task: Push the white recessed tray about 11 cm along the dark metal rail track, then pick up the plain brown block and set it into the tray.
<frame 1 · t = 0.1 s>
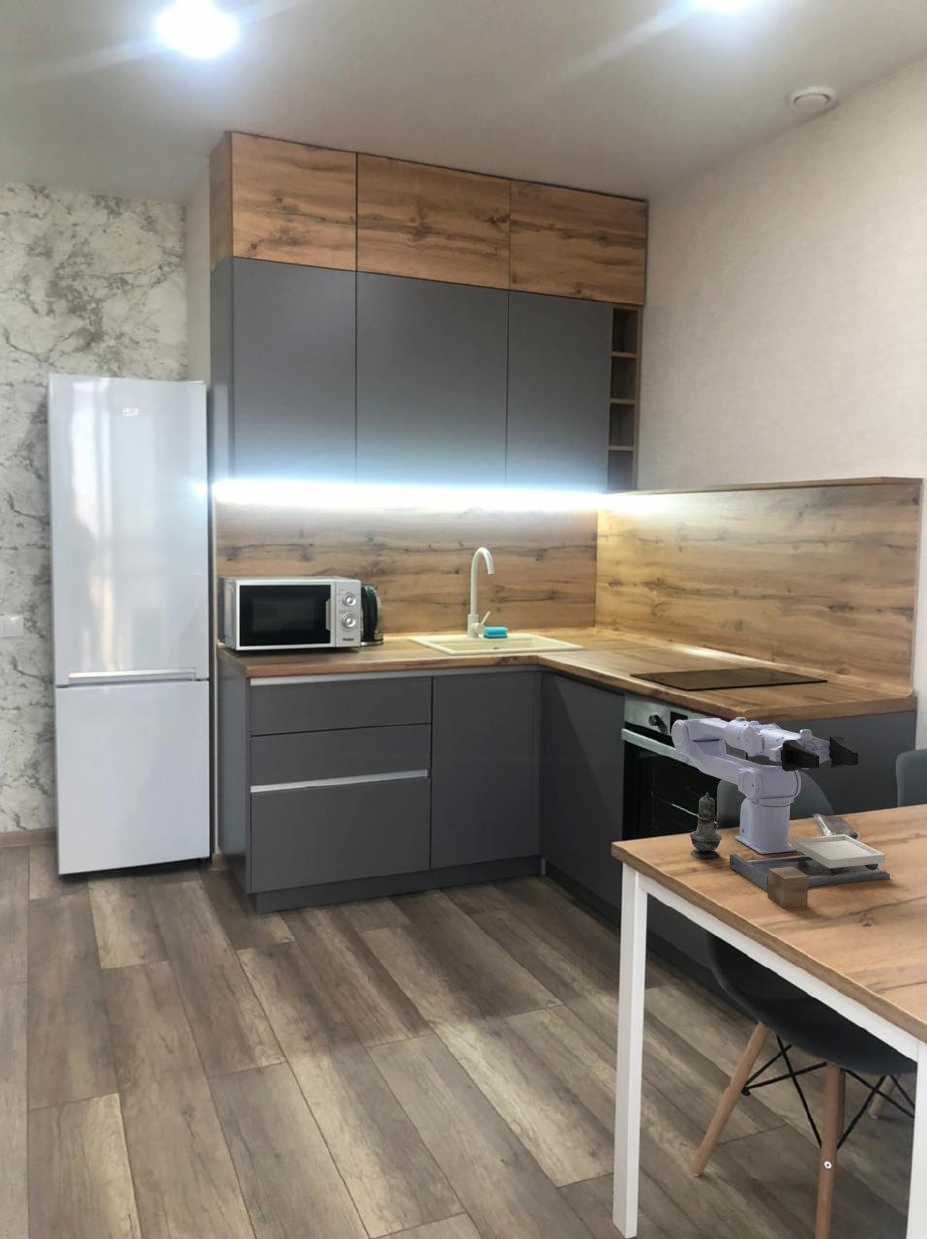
hand: (837, 760, 171), 22 cm above the table, tool horizontal, fingers open, 7 cm apart
plain brown block: (787, 901, 165), on the table
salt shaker: (704, 855, 187), on the table
white recessed tray: (837, 854, 179), point 3 cm above the table, slide at 0.0 cm
rail track: (808, 872, 178), on the table
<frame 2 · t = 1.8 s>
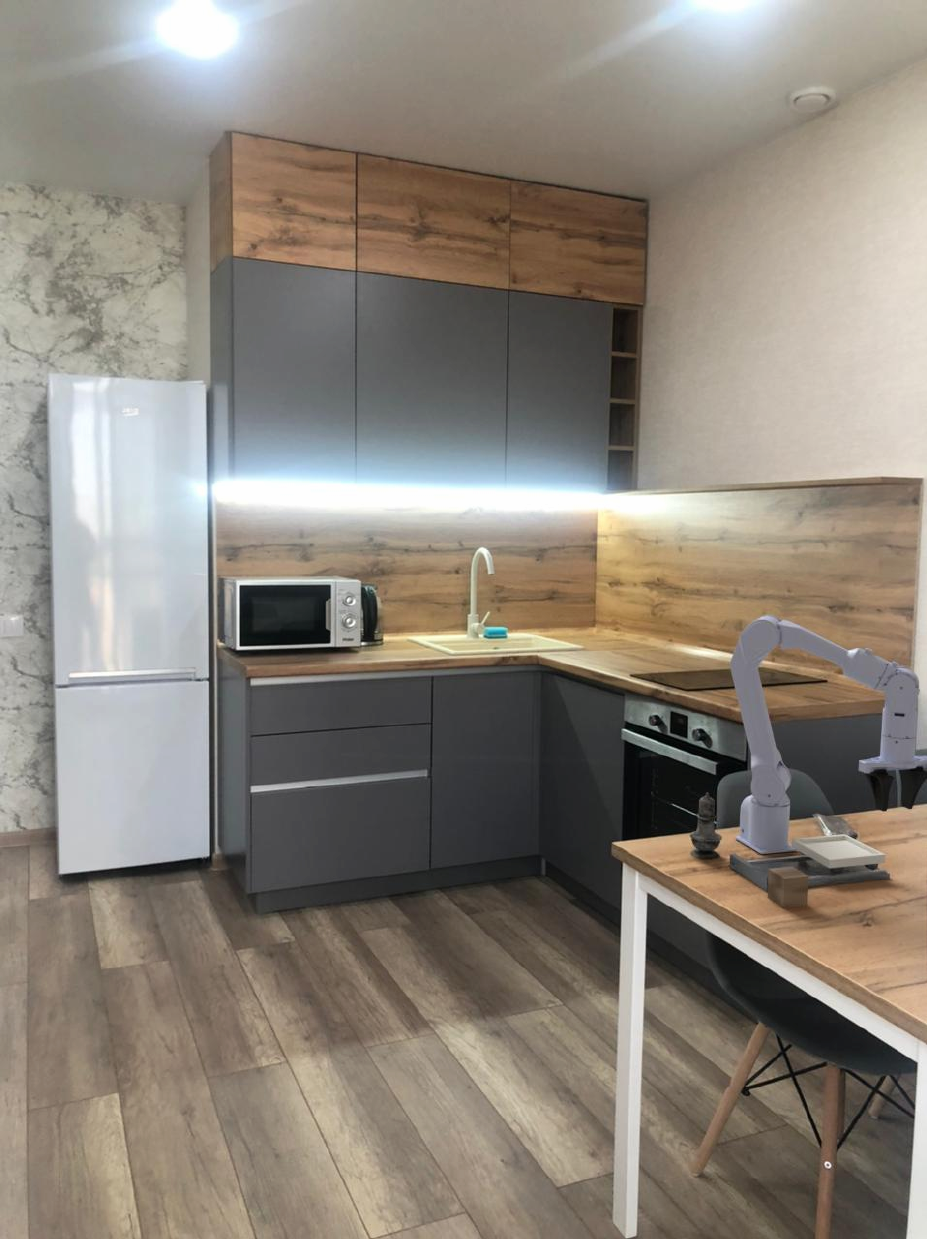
hand: (894, 808, 182), 10 cm above the table, tool pointing down, fingers open, 5 cm apart
nothing on the table moved.
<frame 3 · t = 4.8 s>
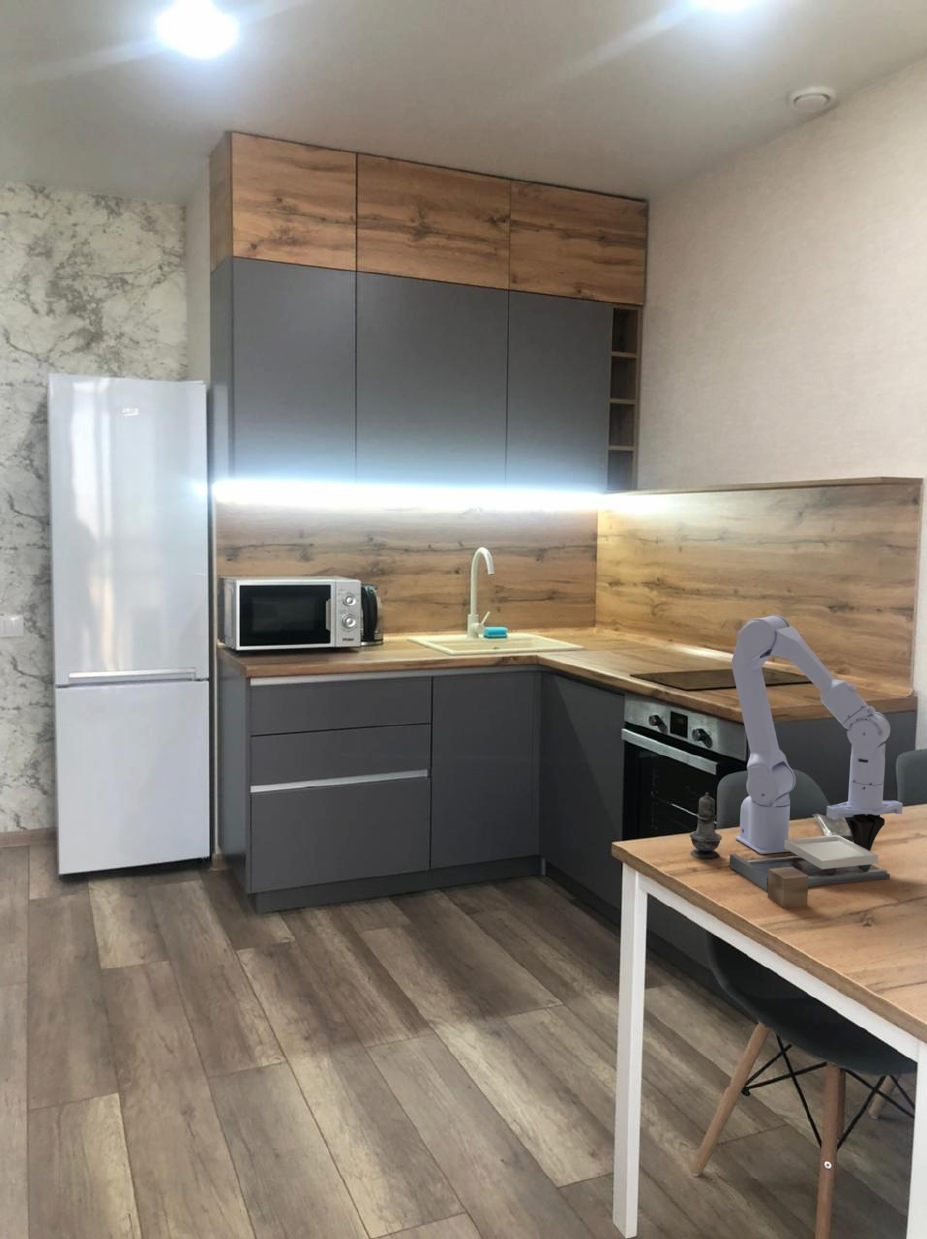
hand: (862, 854, 181), 2 cm above the table, tool pointing down, fingers closed
white recessed tray: (829, 855, 179), point 3 cm above the table, slide at 1.5 cm, touching gripper
everything else where it was.
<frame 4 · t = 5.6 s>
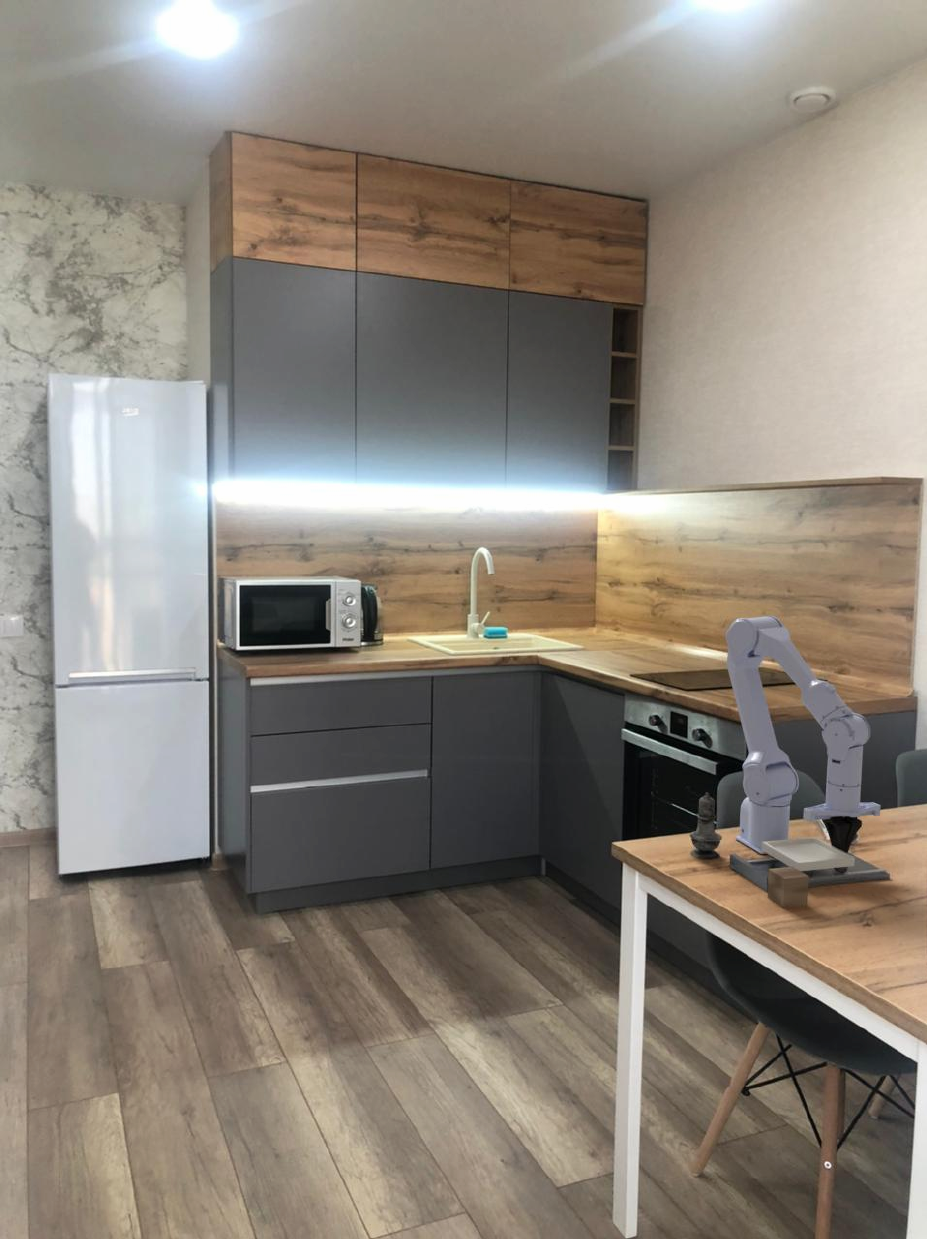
hand: (839, 856, 180), 2 cm above the table, tool pointing down, fingers closed
white recessed tray: (806, 857, 178), point 3 cm above the table, slide at 6.2 cm, touching gripper
everything else where it was.
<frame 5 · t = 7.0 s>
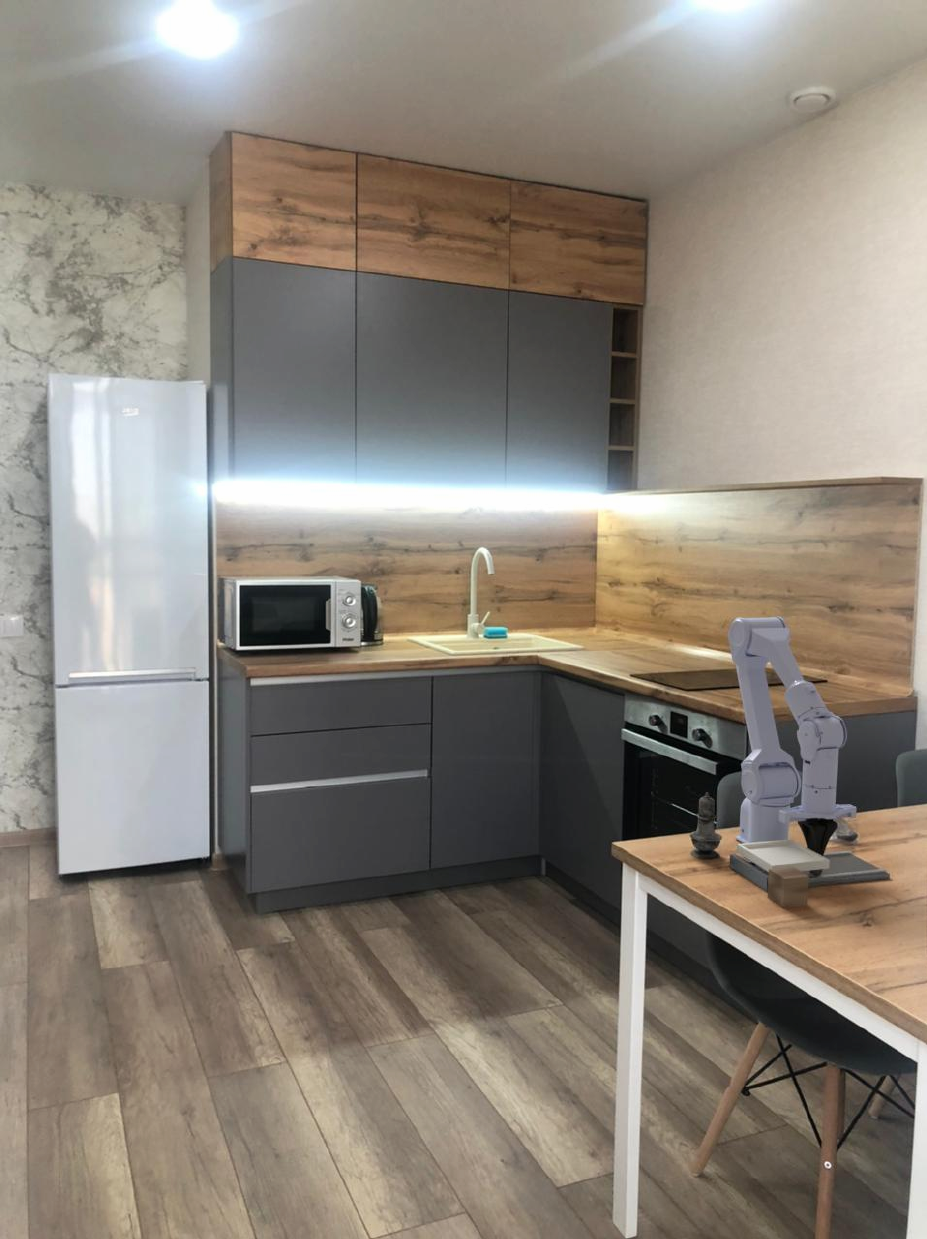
hand: (815, 859, 178), 2 cm above the table, tool pointing down, fingers closed
white recessed tray: (782, 859, 176), point 3 cm above the table, slide at 11.3 cm, touching gripper
everything else where it was.
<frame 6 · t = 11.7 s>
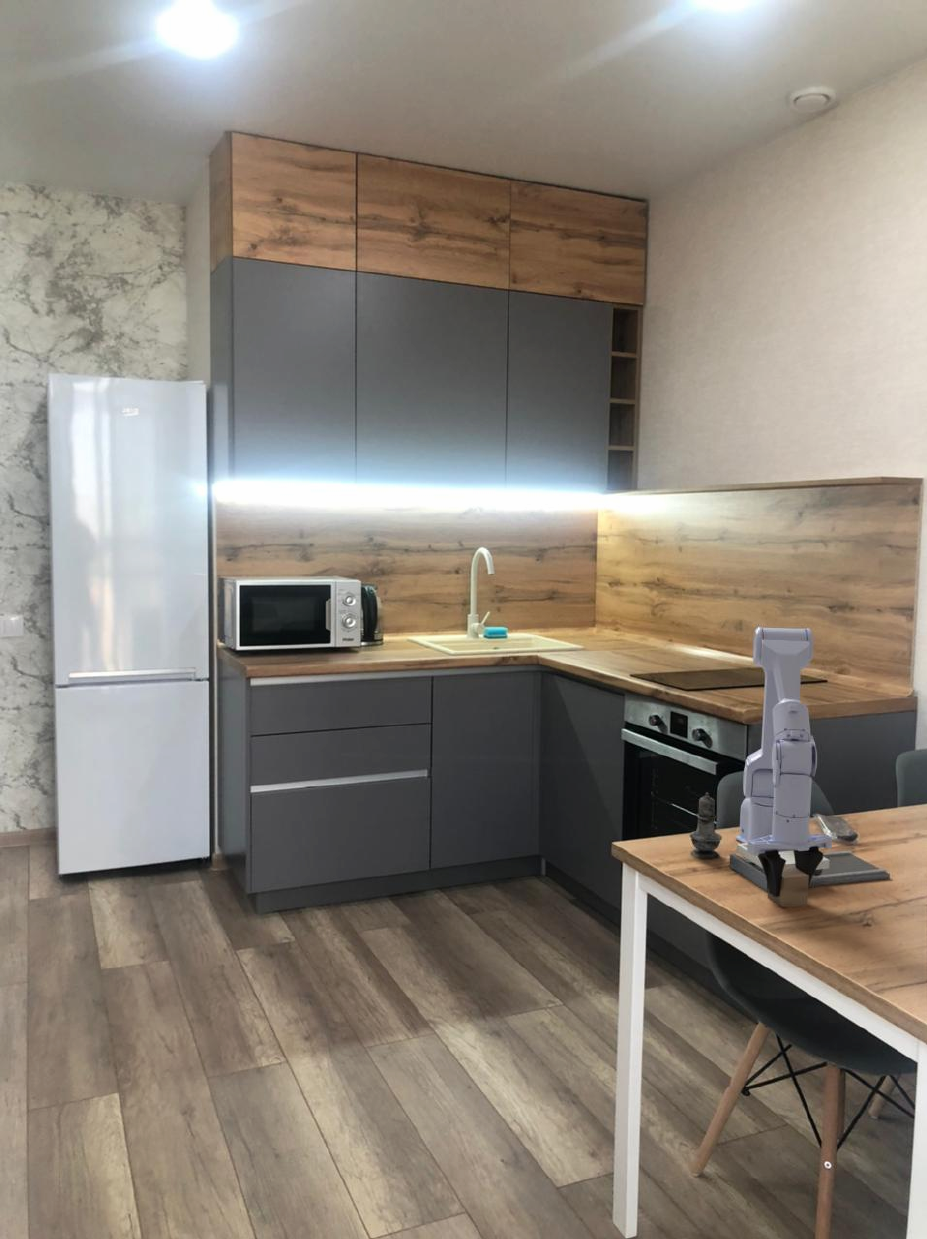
hand: (787, 893, 165), 1 cm above the table, tool pointing down, fingers closed on plain brown block, 4 cm apart
plain brown block: (787, 901, 165), on the table, touching gripper
white recessed tray: (781, 859, 176), point 3 cm above the table, slide at 11.3 cm
everything else where it was.
when the fingers open (6 cm above the table, at t = 14.9 s): plain brown block stays where it is, resting on white recessed tray.
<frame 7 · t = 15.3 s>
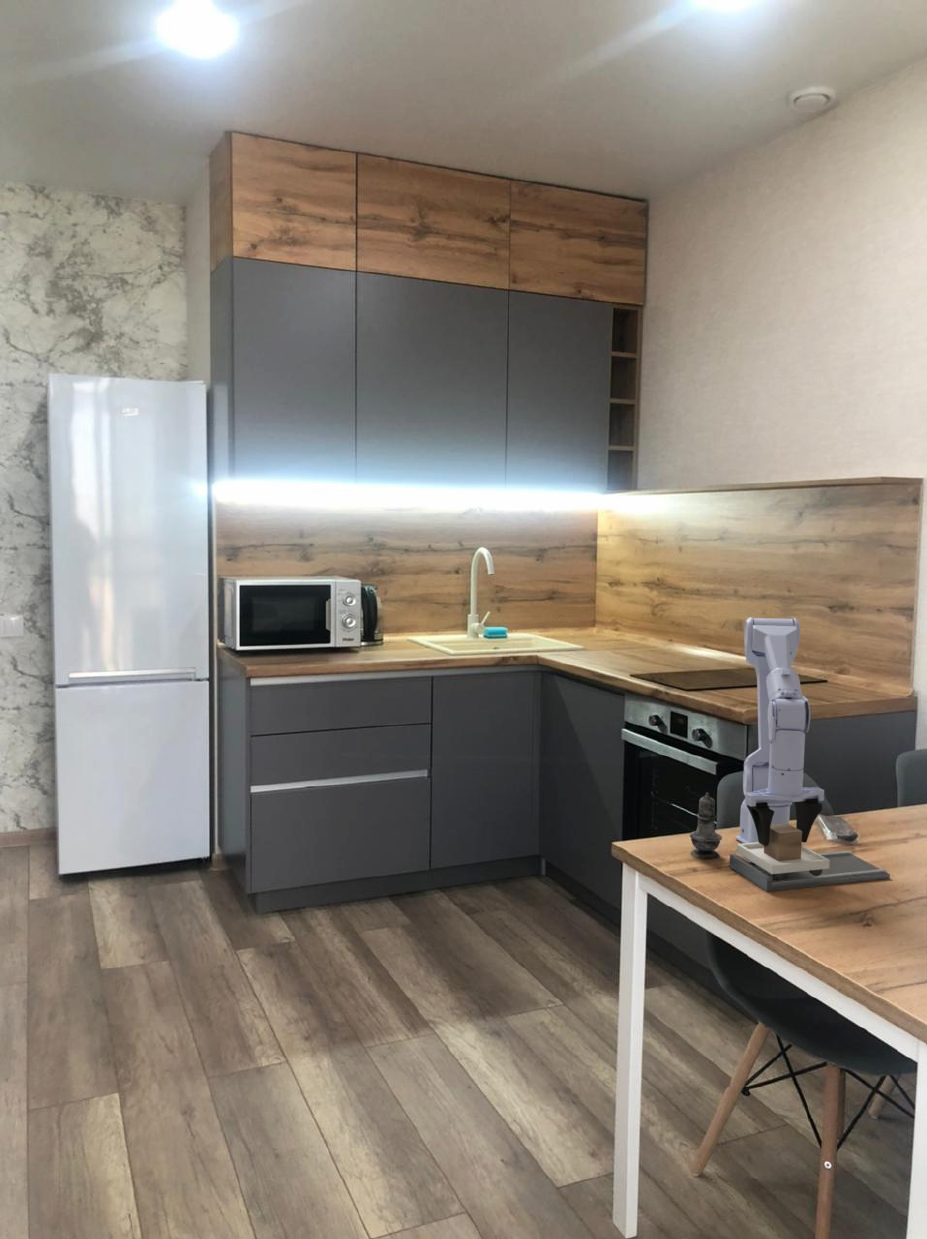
hand: (782, 842, 176), 6 cm above the table, tool pointing down, fingers open, 7 cm apart
plain brown block: (782, 855, 176), point 4 cm above the table, touching white recessed tray
white recessed tray: (781, 859, 176), point 3 cm above the table, slide at 11.3 cm, touching plain brown block
everything else where it was.
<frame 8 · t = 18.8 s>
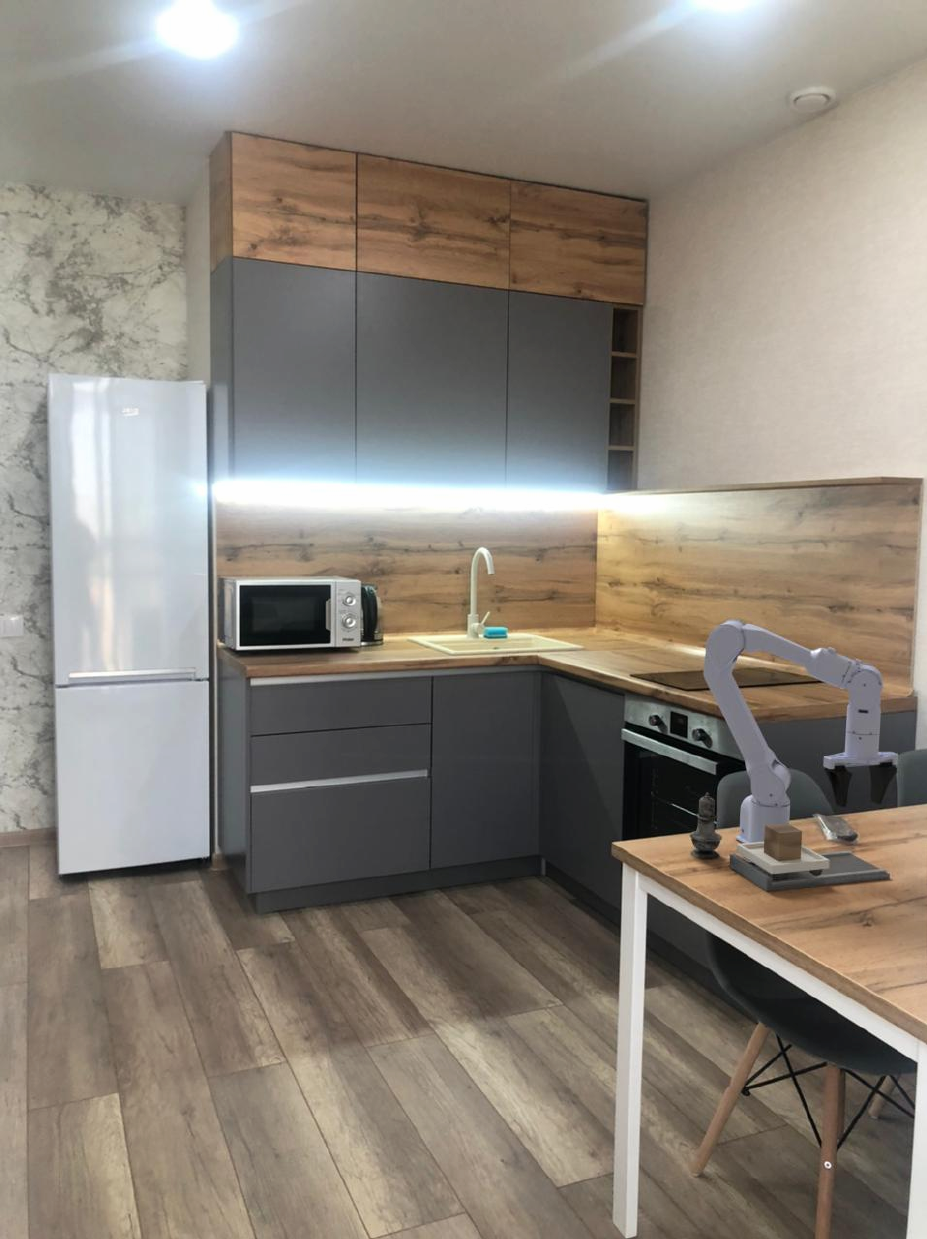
hand: (858, 804, 184), 10 cm above the table, tool pointing down, fingers open, 7 cm apart
nothing on the table moved.
at the end: white recessed tray slide at 11.3 cm; plain brown block inside the target area on the white recessed tray (0.0 cm from its centre), point 3.6 cm above the white recessed tray's base; plain brown block tilted 0° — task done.
